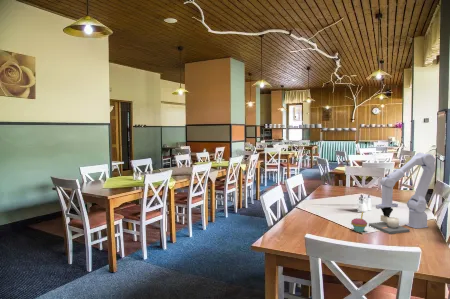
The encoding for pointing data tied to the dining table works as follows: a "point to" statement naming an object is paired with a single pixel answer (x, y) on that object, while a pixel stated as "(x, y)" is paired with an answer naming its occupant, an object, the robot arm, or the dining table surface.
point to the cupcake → (359, 224)
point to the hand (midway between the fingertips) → (386, 219)
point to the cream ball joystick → (390, 220)
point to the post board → (389, 228)
